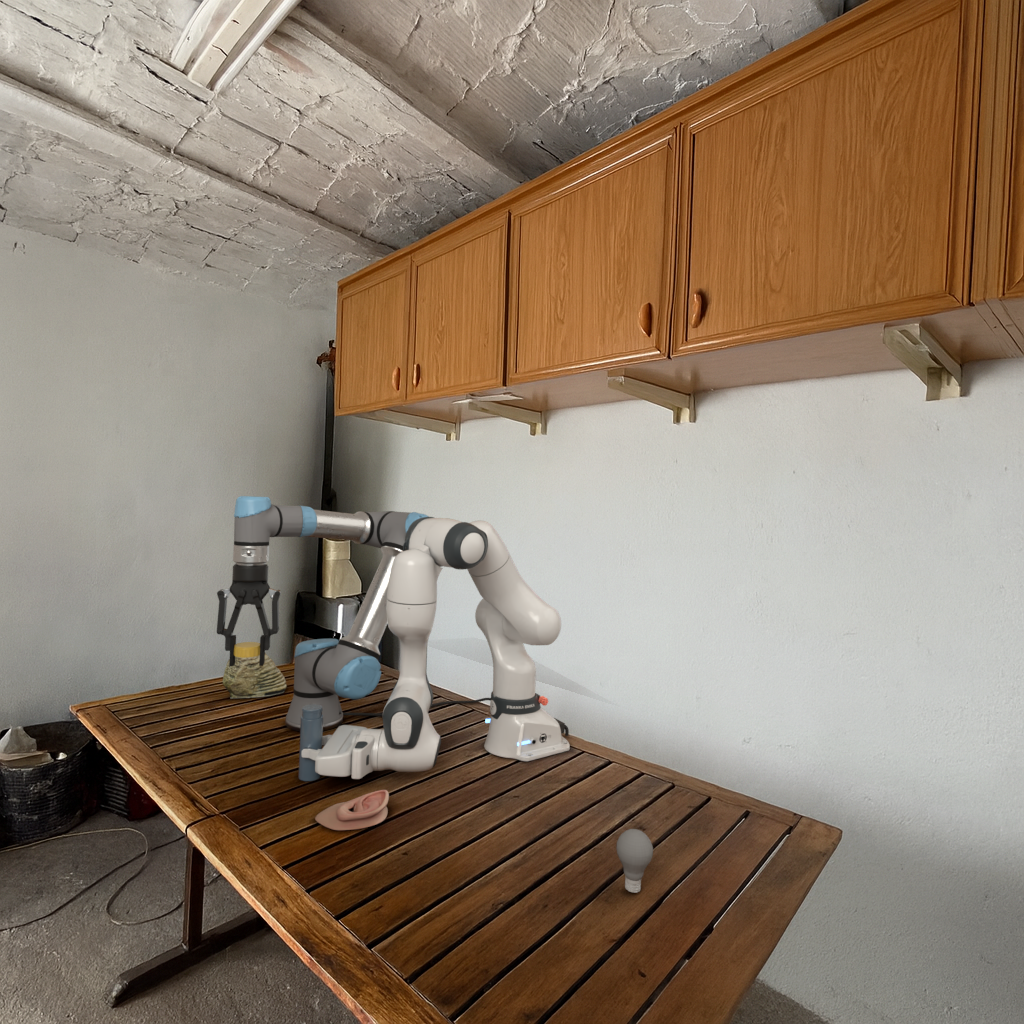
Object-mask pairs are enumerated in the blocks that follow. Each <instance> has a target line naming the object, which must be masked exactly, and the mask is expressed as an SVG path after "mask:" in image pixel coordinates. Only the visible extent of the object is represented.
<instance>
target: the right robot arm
mask: <svg viewBox="0 0 1024 1024" xmlns="http://www.w3.org/2000/svg"><path fill="white" fill-rule="evenodd" d="M405 549H406V551H405ZM443 567H444V568H445V567H446V568H450V569H451V568H452V569H455V570H459V571H461V570H467V572H468V574H469V576H470V578H471V580H472V582H473V584H474V586H475V587H476V590H477V591H478V593H479V595H480V596H481V598H482V599H480V601H479V602H478V604H477V606H476V609H475V612H474V613H475V615H474V618H475V623H476V626H477V627H478V628H479V629H480V631H481V632H482V634H483V635H484V637H485V639H486V641H487V644H488V647H489V651H490V654H491V659H492V679H493V680H492V691H491V692H490V698H491V701H490V702H489V711H490V712H489V714H490V718H485V721H484V722H485V724H488V731H487V734H486V738H485V742H484V744H483V747H484V750H485V751H486V752H488V753H489V754H492V755H494V756H496V757H501V758H506V759H514V760H518V761H521V762H530V761H535V760H538V759H543V758H546V757H549V756H553V755H554V756H555V755H556V754H561V753H565V752H568V751H571V746H570V745H571V744H570V742H569V741H568V740H567V738H566V737H569V735H570V731H569V730H570V729H569V727H568V725H566V723H565V722H563V721H561V720H559V719H558V718H556V717H553V715H551V714H550V713H549V712H548V711H546V710H545V709H544V708H542V707H541V705H542V706H544V707H545V706H547V705H548V704H549V699H548V697H546V696H544V695H540V694H539V693H536V682H537V681H536V680H537V666H536V662H535V661H534V659H533V658H532V657H531V656H530V655H529V653H528V652H527V649H526V647H525V645H529V646H549V645H553V643H554V642H555V641H557V639H558V638H559V636H560V633H561V631H562V618H561V614H560V613H559V611H558V610H557V609H556V608H555V607H553V606H552V605H550V604H548V603H547V602H546V601H544V599H542V598H541V596H539V595H538V594H537V593H536V592H535V590H533V589H532V587H531V586H530V585H529V584H528V583H527V582H526V581H525V579H524V578H523V576H522V575H521V573H520V572H519V570H518V568H517V566H516V564H515V562H514V560H513V557H512V556H511V554H510V551H509V549H508V547H507V545H506V544H505V542H504V541H503V539H502V537H501V536H500V534H499V533H498V531H497V530H496V529H495V527H494V526H493V525H492V524H491V523H490V522H488V521H486V520H474V521H471V522H468V521H467V522H466V521H460V520H457V519H454V518H448V517H434V516H429V517H423V518H419V519H417V520H415V521H414V522H413V523H412V524H411V525H410V527H409V528H408V530H407V533H406V536H405V542H404V544H403V552H401V553H399V554H398V555H397V556H396V557H395V558H394V560H393V564H392V567H391V572H390V576H389V582H388V590H387V605H386V611H387V621H388V624H387V626H388V629H389V631H390V632H391V633H392V634H393V635H394V636H395V637H397V638H398V640H399V646H400V651H399V654H400V656H399V674H398V675H399V676H398V679H397V681H396V683H395V684H394V686H393V688H392V691H391V694H390V695H389V698H388V699H387V702H386V704H385V705H384V708H383V711H382V713H383V716H382V725H383V726H382V727H383V728H368V727H365V726H362V725H361V726H359V725H353V724H351V725H350V724H341V725H339V726H337V727H336V729H335V731H333V734H326V735H323V737H322V749H318V750H314V749H312V747H305V748H304V749H303V750H302V755H301V756H302V757H303V758H310V759H312V760H315V772H316V773H318V774H319V775H321V776H326V777H337V778H338V777H339V778H346V777H350V776H351V779H352V780H360V779H363V777H365V776H366V775H368V774H370V773H373V772H383V771H387V770H390V771H391V770H392V771H395V772H398V773H419V772H427V771H430V770H432V769H433V768H434V767H435V766H436V764H437V761H438V757H439V753H440V749H441V744H442V737H441V735H440V734H439V733H438V732H437V730H436V729H435V727H434V726H433V722H432V721H431V717H430V715H429V711H430V710H431V708H432V707H431V706H432V704H434V703H433V701H434V693H433V689H432V686H431V684H430V682H429V678H428V675H427V674H428V673H427V669H428V668H427V667H428V643H429V638H430V635H431V633H432V630H433V627H434V623H435V618H436V612H437V601H438V579H439V576H440V574H441V573H442V570H443ZM524 644H525V645H524ZM563 734H564V736H565V737H564V736H563Z"/></svg>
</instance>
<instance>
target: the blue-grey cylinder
mask: <svg viewBox="0 0 1024 1024" xmlns="http://www.w3.org/2000/svg"><path fill="white" fill-rule="evenodd" d="M322 711H323V709H322V706H321V705H315V704H313V705H306V706H304V707H303V709H302V716H301V724H300V731H299V750H298V752H299V753H298V757H299V758H298V779H299V780H300V781H302V782H313V781H317V780H319V779H320V778H321V777H322V775H319V774H318V773H316V772H315V760H312V759H310V758H303V757H302V756H301V755H302V750H303V749H304V748H305V747H312V749H314V750H318V749H323V745H322V737H323V736H324V734H323V732H324V731H323V715H322Z"/></svg>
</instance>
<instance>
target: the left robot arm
mask: <svg viewBox="0 0 1024 1024" xmlns="http://www.w3.org/2000/svg"><path fill="white" fill-rule="evenodd" d="M233 517H234V523H233V524H234V526H233V551H232V553H233V556H232V562H233V563H234V564H233V565H232V579H231V580H232V581H231V584H230V586H229V587H228V588H225V589H223V588H222V589H220V590H218V591H217V592H216V594H217V595H216V596H217V599H218V611H217V620H216V621H217V623H216V634H217V635H221V636H224V639H225V640H224V650H225V652H229V659H230V662H229V666H233V665H234V664H235V656H234V645H235V644H237V634H234V630H235V628H236V625H237V623H238V619H239V617H240V614H241V612H242V608H243V606H245V605H246V606H247V605H251V606H252V605H253V606H255V609H256V611H257V615H258V620H259V622H260V626H261V630H262V633H263V634H261V636H260V637H259V643H260V660H259V666H263V664H264V662H265V653H266V651H269V650H270V647H271V636H273V635H276V634H278V632H279V630H280V606H279V605H280V601H279V600H280V597H281V595H282V590H281V589H274V588H271V586H270V584H269V565H268V564H267V563H269V560H270V559H269V558H270V539H271V538H295V537H296V538H302V537H305V538H306V537H307V538H320V539H332V540H346V541H351V542H353V543H354V544H356V545H364V546H370V547H374V548H378V549H380V551H381V553H382V557H381V560H380V562H379V565H378V567H377V569H376V571H375V573H374V575H373V578H372V581H371V583H370V585H369V587H368V589H367V591H366V594H365V596H364V598H363V600H362V603H361V605H360V608H359V610H358V612H357V614H356V616H355V619H354V621H353V622H352V625H351V628H350V630H349V632H348V633H347V634H346V635H345V636H342V637H341V638H339V639H337V638H317V639H308V640H304V641H300V642H299V643H298V644H297V645H296V646H295V650H294V655H293V657H294V672H293V673H294V674H293V695H292V696H293V697H292V699H291V702H290V704H289V708H288V711H287V713H286V715H285V726H286V728H287V729H289V730H291V731H294V732H295V731H296V732H300V724H301V716H302V709H303V707H304V706H306V705H313V704H315V705H321V706H322V709H323V711H322V715H323V732H325V731H329V730H332V729H335V728H338V727H339V726H341V725H342V723H343V722H344V716H355V717H356V716H362V717H363V716H364V717H383V712H343V709H342V706H341V702H340V699H339V697H340V698H343V699H349V700H356V701H357V700H362V699H364V698H366V697H367V696H369V695H370V694H372V693H373V692H374V690H376V688H377V686H378V684H379V682H380V680H381V677H382V670H381V668H382V666H381V663H380V662H379V659H380V657H381V652H380V649H379V645H380V643H381V640H382V637H383V635H384V633H385V631H386V629H387V626H388V621H387V611H386V605H387V590H388V582H389V576H390V572H391V567H392V564H393V560H394V558H395V557H396V556H397V555H398V554H399V553H401V552H403V544H404V542H405V536H406V533H407V530H408V528H409V527H410V525H411V524H412V523H413V522H414V521H415V520H417V519H419V518H423V517H430V516H429V515H427V514H425V513H420V512H416V511H413V512H408V511H407V512H406V511H394V510H385V511H382V510H381V511H363V510H362V511H361V510H360V511H356V512H355V513H347V512H340V511H330V510H322V509H314V508H312V507H311V506H306V505H289V504H288V505H286V504H272V500H271V498H270V497H269V496H252V495H249V496H248V495H240V496H238V497H237V498H236V500H235V505H234V514H233ZM405 551H406V549H405ZM230 594H231V595H232V596H233V597H234V599H235V601H236V602H235V604H234V608H233V611H232V613H231V616H230V620H229V623H228V625H227V628H226V619H227V618H226V617H227V607H228V598H229V597H230ZM268 594H269V598H270V599H271V627H270V624H269V620H268V617H267V613H266V609H265V606H264V601H263V600H264V598H265V597H266V596H267V595H268ZM485 701H490V702H491V697H483V698H479V699H473V700H447V701H440V702H436V703H432V706H431V708H433V707H438V706H442V705H450V704H451V705H452V704H475V703H480V702H485Z"/></svg>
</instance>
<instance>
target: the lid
mask: <svg viewBox="0 0 1024 1024" xmlns="http://www.w3.org/2000/svg"><path fill="white" fill-rule="evenodd" d="M259 655H260V642H258V641H257V642H256V641H243V642H242V641H241V642H236V644H235V645H234V656H235V657H240V658H249V657H256V656H259Z"/></svg>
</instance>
